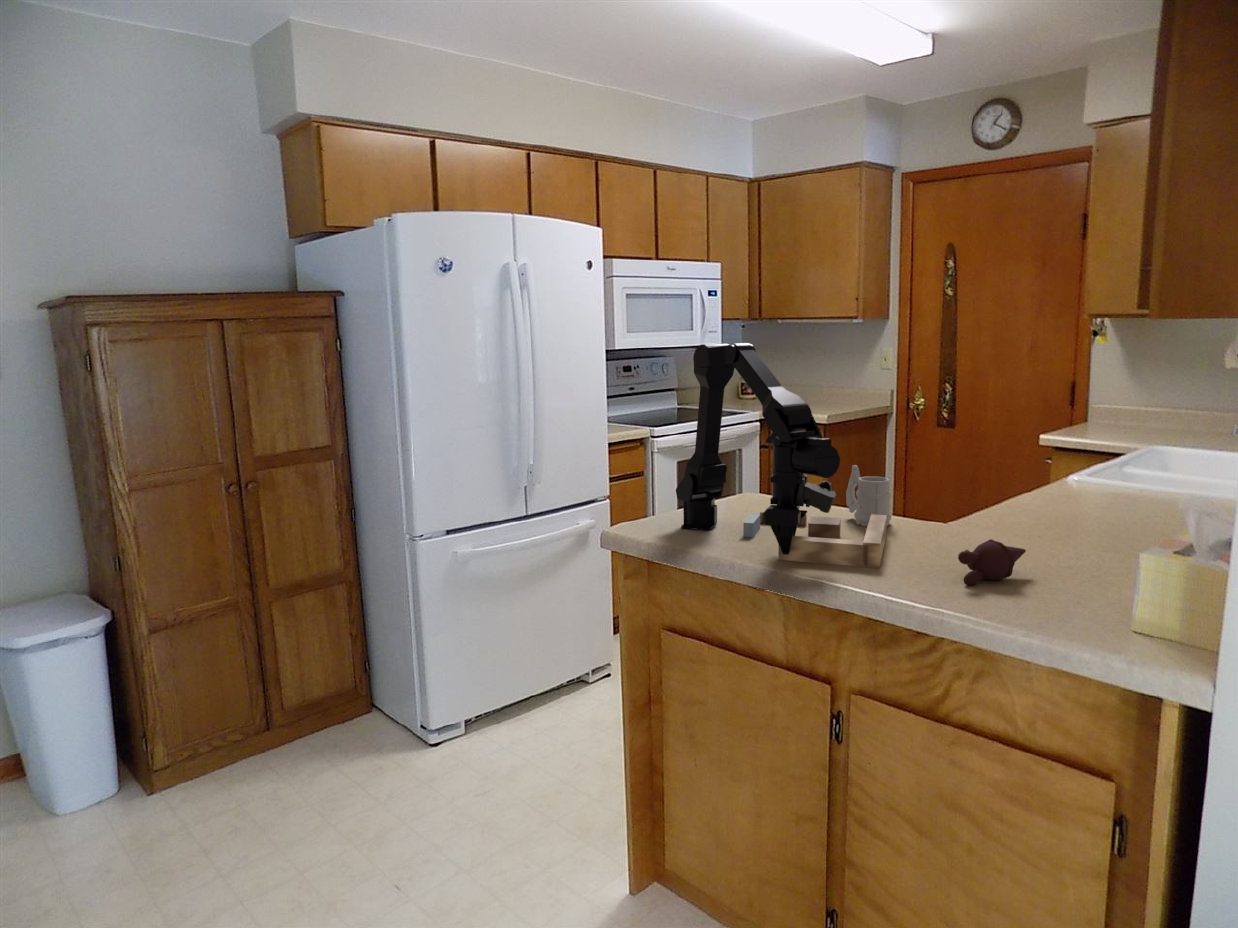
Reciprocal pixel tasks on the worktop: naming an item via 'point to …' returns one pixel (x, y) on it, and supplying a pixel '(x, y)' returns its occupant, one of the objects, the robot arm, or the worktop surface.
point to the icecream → (989, 561)
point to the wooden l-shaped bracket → (841, 547)
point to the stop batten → (751, 525)
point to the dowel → (803, 523)
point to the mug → (868, 497)
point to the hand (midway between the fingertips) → (787, 551)
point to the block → (824, 527)
